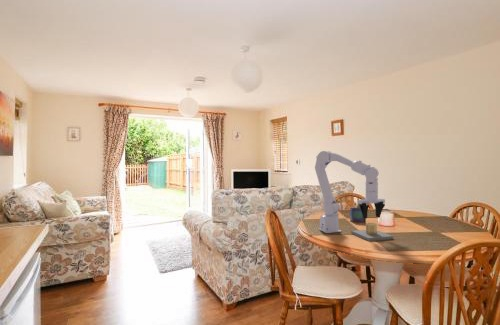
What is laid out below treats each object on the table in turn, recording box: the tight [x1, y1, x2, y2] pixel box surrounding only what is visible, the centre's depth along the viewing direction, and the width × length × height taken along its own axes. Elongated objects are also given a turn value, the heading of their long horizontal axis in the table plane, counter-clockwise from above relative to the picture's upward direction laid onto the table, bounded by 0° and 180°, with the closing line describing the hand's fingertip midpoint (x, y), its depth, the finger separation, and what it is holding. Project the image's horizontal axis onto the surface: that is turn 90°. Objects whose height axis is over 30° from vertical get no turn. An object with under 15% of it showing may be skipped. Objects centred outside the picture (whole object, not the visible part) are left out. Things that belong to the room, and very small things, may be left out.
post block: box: [350, 229, 394, 242], centre depth 143 cm, size 14×14×6 cm
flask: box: [349, 204, 367, 224], centre depth 176 cm, size 9×3×11 cm, turn 65°
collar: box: [365, 221, 378, 235], centre depth 143 cm, size 5×5×5 cm
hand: (371, 217), depth 143 cm, fingers open, 7 cm apart
